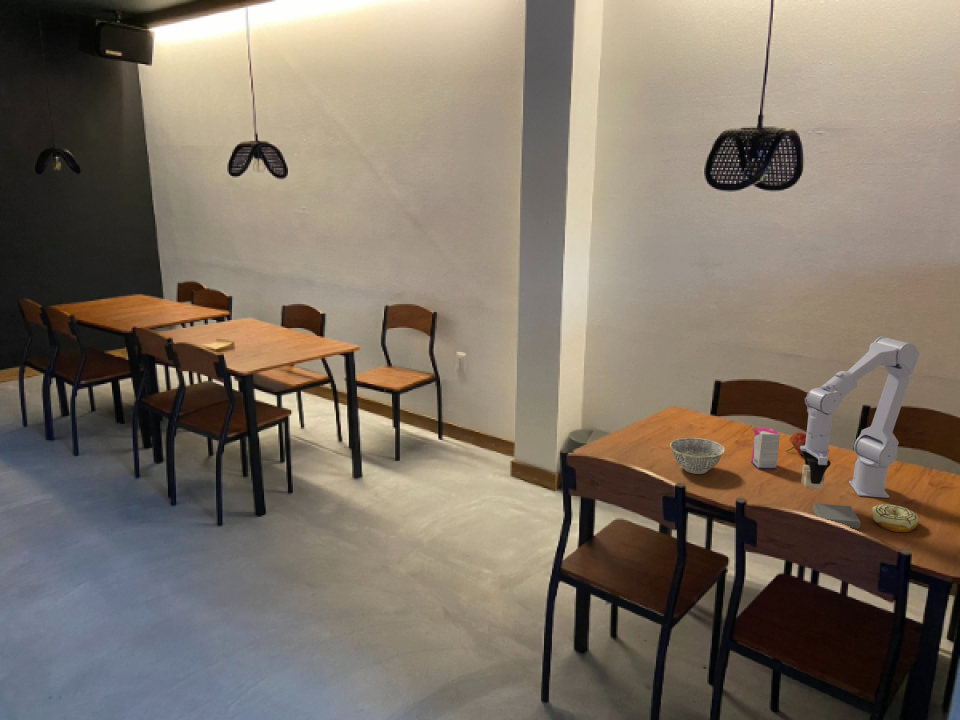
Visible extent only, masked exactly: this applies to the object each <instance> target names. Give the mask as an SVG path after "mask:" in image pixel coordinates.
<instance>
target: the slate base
mask: <svg viewBox="0 0 960 720" xmlns="http://www.w3.org/2000/svg"><path fill="white" fill-rule="evenodd" d="M812 511H813V513H814V514H815V516H816V517H817V516H819V517H821V518H825V519H827V520H831V521H835V522H838V523H842V524H845V525H847V526H850V527H852V528H851V529H854V528H855V529H857V530H860V529H861V522H862V521H861V520H860V519H859V517H858V516H857V514H856V512H855V511H854V509H853V508H852V507H851V505H841V504H828V503H815V502H814V503H813V507H812Z"/></svg>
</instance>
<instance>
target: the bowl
mask: <svg viewBox="0 0 960 720" xmlns="http://www.w3.org/2000/svg"><path fill="white" fill-rule="evenodd" d="M669 447H670V449H671V451H672V455H673V457H674V459H675V461H676V462H677V464H679V466H680V467H682V468H683V469H684V471H685V472H687V473H690V474H695V475H700V474H706V473H707V472H709V470H711V469H713V468H715V467H716V466H717V465H718V463H719V462H720V460H721V458H722V456H723V455H724V453H725V450H726V449H725V447H724V445H722V444H720V443H719V442H716V441H714V440H710V439H706V438H699V437H684V438H682V437H681V438H677V439H675V440H672V441H671V442H670V444H669Z"/></svg>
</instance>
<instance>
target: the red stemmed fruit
mask: <svg viewBox="0 0 960 720" xmlns="http://www.w3.org/2000/svg"><path fill="white" fill-rule="evenodd" d="M806 434H807V433H804V432H800V431H798V432H797V431H796V432H795V433H793V434H792V435H791V436H790V438H789V442H790V443H791V444H792V445H793V447H791V448H789V449H787V450H785V452H789V451H792V449H794V450H796V451H797V452H798V454H799V455H801V456H803V453H802V451H801V449H800V446H805V443H806Z"/></svg>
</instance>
